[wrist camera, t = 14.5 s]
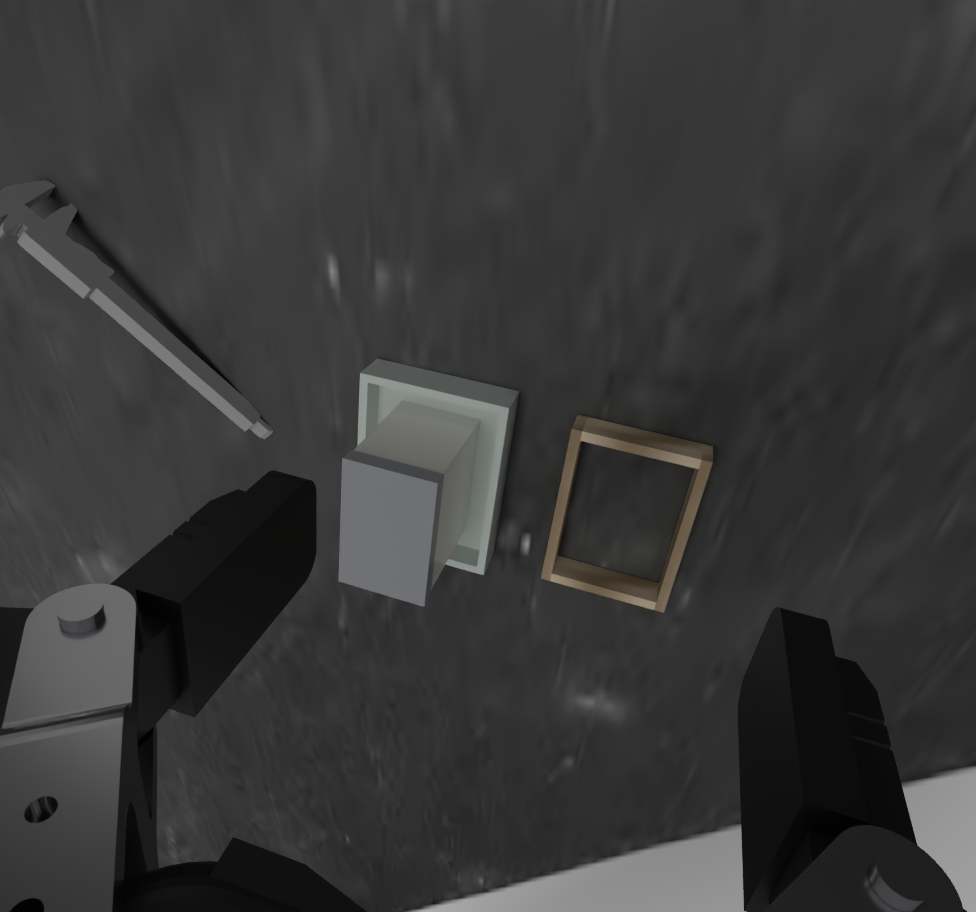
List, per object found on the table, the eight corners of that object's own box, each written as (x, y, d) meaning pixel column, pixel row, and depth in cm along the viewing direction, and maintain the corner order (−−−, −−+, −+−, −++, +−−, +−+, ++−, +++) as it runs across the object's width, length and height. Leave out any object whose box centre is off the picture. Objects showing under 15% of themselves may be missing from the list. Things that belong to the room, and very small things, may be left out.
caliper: (45, 189, 45) (-45, 205, 39) (53, 178, 44) (-38, 192, 39) (268, 436, 49) (213, 480, 44) (277, 428, 48) (223, 472, 43)
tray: (519, 391, 42) (509, 408, 40) (493, 552, 48) (483, 575, 46) (377, 358, 43) (360, 372, 41) (369, 518, 49) (354, 538, 47)
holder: (713, 446, 40) (712, 462, 38) (665, 592, 45) (663, 612, 44) (577, 414, 41) (571, 428, 40) (547, 560, 47) (540, 578, 45)
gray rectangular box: (482, 418, 42) (437, 483, 35) (467, 529, 46) (424, 606, 40) (401, 398, 43) (342, 458, 36) (392, 508, 47) (338, 581, 40)
